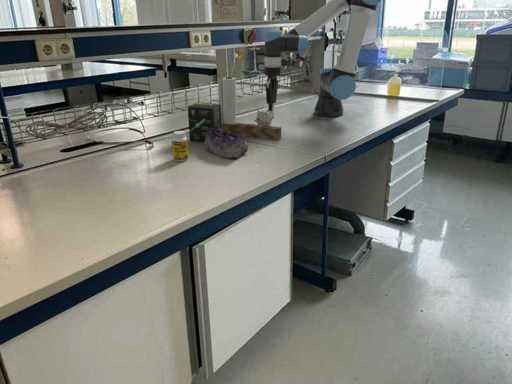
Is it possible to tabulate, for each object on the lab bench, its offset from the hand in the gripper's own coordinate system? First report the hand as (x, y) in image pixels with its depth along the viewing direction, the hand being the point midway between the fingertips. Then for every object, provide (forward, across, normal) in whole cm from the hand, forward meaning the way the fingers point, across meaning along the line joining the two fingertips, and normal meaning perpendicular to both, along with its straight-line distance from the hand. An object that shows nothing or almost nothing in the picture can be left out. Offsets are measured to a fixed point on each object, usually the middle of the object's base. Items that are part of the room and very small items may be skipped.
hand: (271, 116), depth 202 cm
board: (+3, +27, 0) cm, 27 cm away
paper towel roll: (+3, +10, -18) cm, 20 cm away
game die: (+3, +11, 0) cm, 11 cm away
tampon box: (+3, +38, -16) cm, 41 cm away
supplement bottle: (+3, +64, -13) cm, 65 cm away
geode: (+3, +51, -2) cm, 51 cm away
